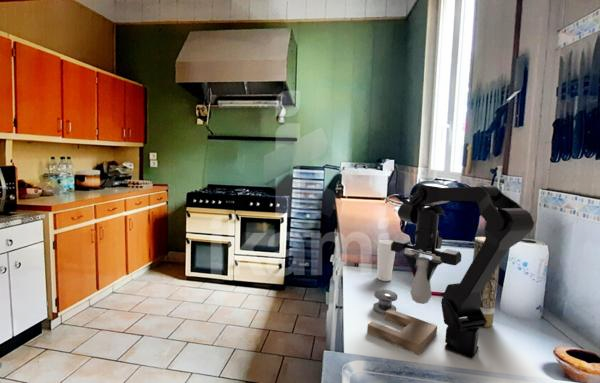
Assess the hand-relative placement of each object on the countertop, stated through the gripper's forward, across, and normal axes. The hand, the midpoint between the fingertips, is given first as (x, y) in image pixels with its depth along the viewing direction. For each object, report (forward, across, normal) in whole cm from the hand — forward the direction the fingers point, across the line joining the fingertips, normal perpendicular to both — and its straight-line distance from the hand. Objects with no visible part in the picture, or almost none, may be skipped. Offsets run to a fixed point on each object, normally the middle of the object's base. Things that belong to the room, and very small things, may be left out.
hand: (422, 279), depth 98 cm
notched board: (+12, 0, +12) cm, 17 cm away
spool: (+12, +10, +2) cm, 16 cm away
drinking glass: (+12, +22, -22) cm, 33 cm away
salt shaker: (+7, 0, 0) cm, 7 cm away
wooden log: (+12, -14, -11) cm, 22 cm away
